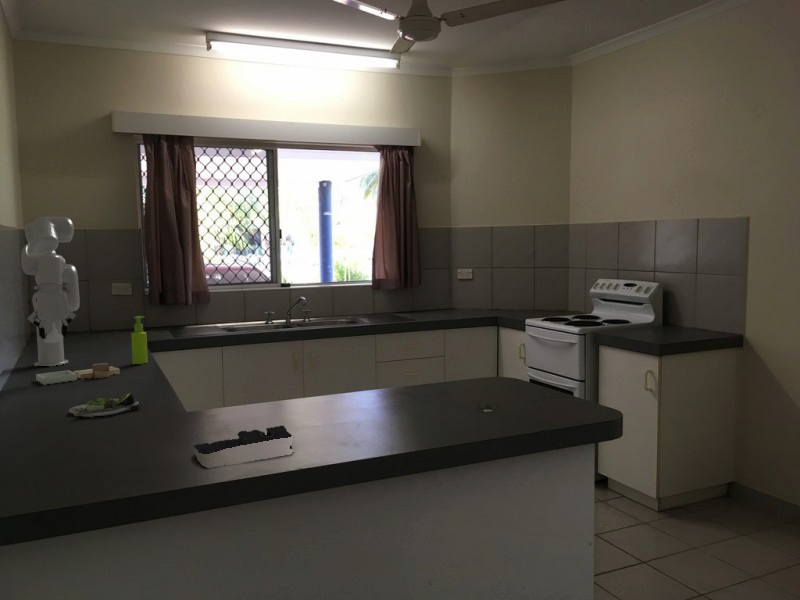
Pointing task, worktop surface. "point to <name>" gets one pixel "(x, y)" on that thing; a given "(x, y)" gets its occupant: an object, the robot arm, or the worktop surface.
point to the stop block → (100, 370)
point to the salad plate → (105, 406)
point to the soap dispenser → (139, 343)
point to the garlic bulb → (53, 334)
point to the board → (89, 372)
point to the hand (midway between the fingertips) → (53, 337)
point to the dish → (56, 377)
